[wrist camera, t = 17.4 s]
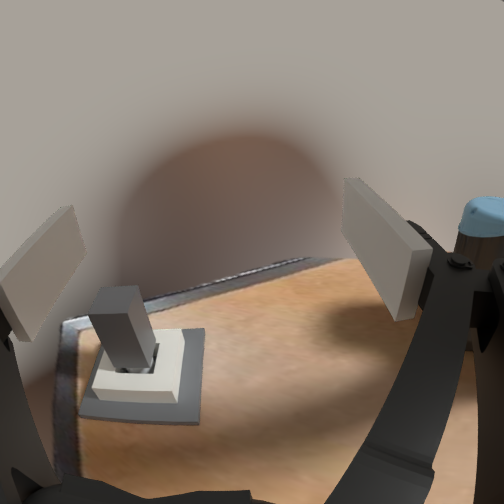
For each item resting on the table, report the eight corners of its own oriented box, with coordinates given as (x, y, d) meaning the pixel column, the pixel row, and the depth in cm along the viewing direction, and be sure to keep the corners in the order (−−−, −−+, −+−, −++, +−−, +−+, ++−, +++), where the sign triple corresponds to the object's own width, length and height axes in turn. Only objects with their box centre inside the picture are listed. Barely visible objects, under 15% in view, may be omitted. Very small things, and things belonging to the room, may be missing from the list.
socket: (205, 332, 53) (201, 314, 51) (199, 425, 37) (193, 410, 35) (108, 335, 52) (101, 318, 50) (81, 417, 37) (68, 402, 35)
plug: (162, 357, 47) (137, 285, 39) (157, 385, 42) (127, 313, 35) (130, 357, 46) (100, 287, 39) (123, 384, 42) (87, 314, 35)
